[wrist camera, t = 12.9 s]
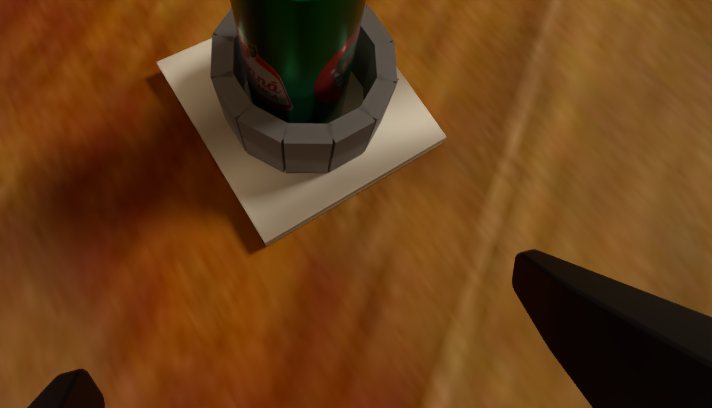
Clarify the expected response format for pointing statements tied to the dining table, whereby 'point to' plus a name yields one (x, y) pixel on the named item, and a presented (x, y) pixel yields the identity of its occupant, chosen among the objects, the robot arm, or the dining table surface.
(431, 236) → the dining table surface
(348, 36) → the soda can
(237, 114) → the collar socket
